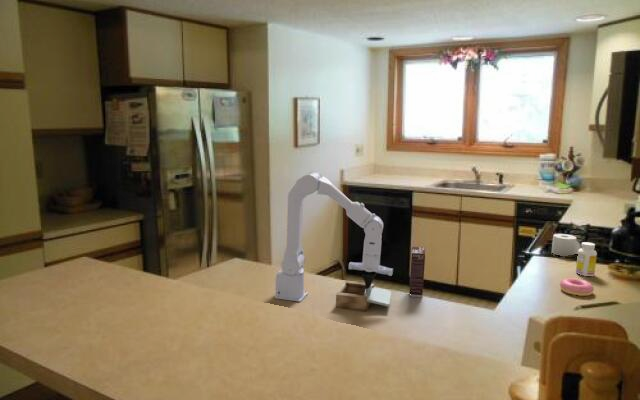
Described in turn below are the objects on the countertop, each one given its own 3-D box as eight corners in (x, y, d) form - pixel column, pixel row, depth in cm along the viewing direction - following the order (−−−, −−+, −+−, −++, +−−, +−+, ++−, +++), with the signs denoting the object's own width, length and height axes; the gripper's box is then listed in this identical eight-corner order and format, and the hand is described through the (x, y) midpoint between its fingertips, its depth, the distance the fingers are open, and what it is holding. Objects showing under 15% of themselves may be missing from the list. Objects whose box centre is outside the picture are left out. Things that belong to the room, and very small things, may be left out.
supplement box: (423, 298, 168) (425, 254, 165) (408, 296, 169) (411, 253, 166) (422, 289, 176) (425, 247, 173) (409, 287, 177) (411, 246, 174)
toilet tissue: (585, 256, 219) (588, 238, 217) (561, 258, 215) (563, 239, 214) (571, 250, 227) (573, 232, 226) (547, 252, 224) (548, 234, 222)
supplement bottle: (594, 273, 195) (598, 243, 193) (593, 278, 190) (597, 246, 187) (576, 270, 199) (579, 240, 197) (574, 275, 193) (578, 244, 191)
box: (335, 307, 159) (336, 294, 158) (346, 292, 172) (347, 280, 172) (365, 311, 156) (366, 298, 155) (374, 295, 169) (374, 283, 168)
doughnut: (599, 294, 174) (600, 283, 173) (581, 300, 169) (583, 288, 168) (570, 284, 183) (571, 274, 183) (552, 289, 178) (554, 279, 177)
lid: (362, 300, 157) (364, 292, 156) (366, 287, 168) (368, 279, 167) (388, 306, 156) (390, 298, 155) (391, 293, 167) (392, 285, 166)
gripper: (347, 253, 158) (344, 292, 161) (391, 260, 154) (388, 300, 156) (352, 247, 164) (349, 285, 167) (395, 254, 160) (391, 292, 163)
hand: (368, 292), depth 162 cm, fingers closed, pressing on lid
